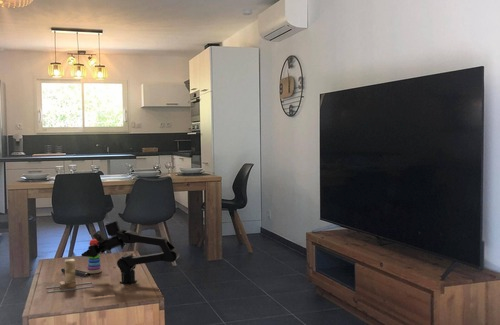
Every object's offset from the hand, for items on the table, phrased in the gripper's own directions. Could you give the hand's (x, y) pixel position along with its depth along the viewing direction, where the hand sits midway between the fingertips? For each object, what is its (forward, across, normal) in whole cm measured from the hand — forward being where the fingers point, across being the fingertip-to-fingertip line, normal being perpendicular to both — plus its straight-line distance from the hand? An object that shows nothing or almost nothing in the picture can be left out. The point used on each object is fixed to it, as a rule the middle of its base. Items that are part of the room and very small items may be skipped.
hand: (85, 253), depth 278 cm
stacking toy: (+9, -19, +13) cm, 25 cm away
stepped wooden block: (+8, +15, +12) cm, 21 cm away
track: (+7, +15, +14) cm, 21 cm away
